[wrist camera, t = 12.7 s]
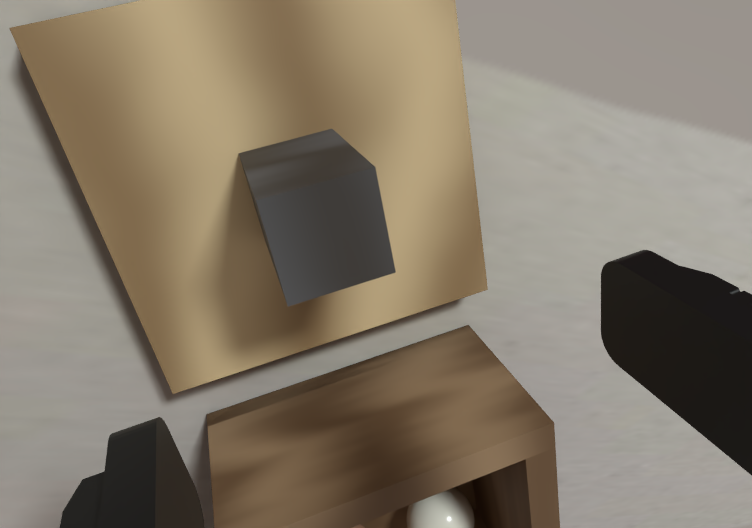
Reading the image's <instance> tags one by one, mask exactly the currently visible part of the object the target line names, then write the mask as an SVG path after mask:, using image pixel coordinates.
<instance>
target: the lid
mask: <svg viewBox="0 0 752 528" xmlns="http://www.w3.org/2000/svg"><path fill="white" fill-rule="evenodd" d="M10 30H11V33H12V35H13V37H14V39H15V42H16V44H17V46H18V48H19V51H20V53H21V55H22V57H23V60H24V62H25V64H26V66H27V69H28V71H29V73H30V75H31V77H32V80H33V82H34V84H35V86H36V89H37V91H38V93H39V95H40V98H41V100H42V102H43V104H44V107H45V109H46V111H47V113H48V116H49V118H50V120H51V122H52V124H53V127H54V129H55V131H56V133H57V136H58V138H59V140H60V142H61V145H62V147H63V149H64V151H65V154H66V156H67V158H68V160H69V163H70V165H71V167H72V169H73V172H74V174H75V176H76V178H77V180H78V183H79V185H80V187H81V189H82V192H83V194H84V196H85V198H86V201H87V203H88V205H89V207H90V210H91V212H92V214H93V216H94V219H95V221H96V223H97V225H98V227H99V230H100V232H101V234H102V236H103V239H104V241H105V243H106V245H107V248H108V250H109V252H110V254H111V257H112V259H113V261H114V263H115V266H116V268H117V270H118V272H119V274H120V277H121V279H122V281H123V283H124V286H125V288H126V290H127V292H128V295H129V297H130V299H131V301H132V304H133V306H134V308H135V310H136V313H137V315H138V317H139V319H140V322H141V324H142V326H143V328H144V330H145V333H146V335H147V337H148V339H149V342H150V344H151V346H152V348H153V351H154V353H155V355H156V357H157V360H158V362H159V364H160V366H161V369H162V371H163V373H164V375H165V377H166V380H167V382H168V384H169V386H170V389H171V391H172V393H173V394H175V393H178V392H181V391H184V390H187V389H190V388H193V387H196V386H199V385H202V384H205V383H208V382H211V381H214V380H217V379H220V378H223V377H226V376H229V375H232V374H235V373H238V372H241V371H244V370H247V369H250V368H253V367H256V366H259V365H262V364H265V363H268V362H271V361H274V360H277V359H280V358H283V357H286V356H289V355H292V354H295V353H298V352H301V351H304V350H307V349H310V348H313V347H316V346H319V345H322V344H325V343H328V342H331V341H334V340H337V339H340V338H343V337H346V336H349V335H352V334H355V333H358V332H361V331H364V330H367V329H370V328H373V327H376V326H379V325H382V324H385V323H388V322H391V321H394V320H397V319H400V318H403V317H406V316H409V315H412V314H415V313H418V312H421V311H424V310H427V309H431V308H434V307H437V306H440V305H443V304H446V303H449V302H452V301H455V300H458V299H461V298H464V297H467V296H470V295H473V294H476V293H479V292H482V291H485V290H488V288H487V279H486V270H485V262H484V253H483V244H482V235H481V226H480V217H479V208H478V199H477V190H476V182H475V173H474V164H473V155H472V146H471V137H470V128H469V119H468V111H467V102H466V93H465V84H464V75H463V66H462V57H461V49H460V39H459V31H458V22H457V13H456V5H455V0H140V1H136V2H131V3H126V4H121V5H117V6H112V7H107V8H102V9H98V10H93V11H88V12H83V13H79V14H74V15H69V16H64V17H60V18H55V19H50V20H45V21H41V22H36V23H31V24H27V25H22V26H17V27H12V28H10Z"/></svg>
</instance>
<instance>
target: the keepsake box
mask: <svg viewBox="0 0 752 528" xmlns="http://www.w3.org/2000/svg"><path fill="white" fill-rule="evenodd" d="M207 427H208V441H209V456H210V470H211V485H212V499H213V514H214V528H352V527H355V526H357V525H360V524H361V525H362V526H364V527H365V528H408V527H407V510H408V506H409V505H411V504H413V503H416V502H418V501H421V500H423V499H426V498H428V497H431V496H433V495H436V494H439V493H441V492H444V491H446V490H449V489H451V488H454V487H455V488H457V489H458V490H460V491H461V492H462V493H463V494H464V495H465V496H466V498H467V499H468V501H469V502H470V504H471V506H472V509H473V513H474V520H475V521H474V528H560V521H559V503H558V485H557V468H556V450H555V432H554V422H553V421H552V420H551V419H550V418H549V416H548V415H547V414H546V413H545V412H544V411H543V410H542V408H541V407H540V406H539V405H538V404H537V403H536V402H535V400H534V399H533V398H532V397H531V396H530V395H529V394H528V392H527V391H526V390H525V389H524V388H523V387H522V386H521V384H520V383H519V382H518V381H517V380H516V379H515V378H514V376H513V375H512V374H511V373H510V372H509V371H508V370H507V368H506V367H505V366H504V365H503V364H502V363H501V362H500V360H499V359H498V358H497V357H496V356H495V355H494V354H493V352H492V351H491V350H490V349H489V348H488V347H487V346H486V344H485V343H484V342H483V341H482V340H481V339H480V338H479V337H478V335H477V334H476V333H475V332H474V331H473V330H472V329H471V327H470V326H469V325H467V326H464V327H461V328H458V329H455V330H453V331H450V332H447V333H444V334H441V335H438V336H435V337H432V338H429V339H426V340H423V341H420V342H417V343H414V344H412V345H409V346H406V347H403V348H400V349H397V350H394V351H391V352H388V353H385V354H382V355H379V356H376V357H373V358H371V359H368V360H365V361H362V362H359V363H356V364H353V365H350V366H347V367H344V368H341V369H338V370H335V371H332V372H330V373H327V374H324V375H321V376H318V377H315V378H312V379H309V380H306V381H303V382H300V383H297V384H294V385H291V386H289V387H286V388H283V389H280V390H277V391H274V392H271V393H268V394H265V395H262V396H259V397H256V398H253V399H250V400H247V401H245V402H242V403H239V404H236V405H233V406H230V407H227V408H224V409H221V410H218V411H215V412H212V413H209V414H207Z"/></svg>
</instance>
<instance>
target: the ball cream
mask: <svg viewBox="0 0 752 528" xmlns="http://www.w3.org/2000/svg"><path fill="white" fill-rule="evenodd" d="M474 521H475V520H474V513H473V509H472V506H471V504H470V502H469V501H468V499H467V498H466V496H465V495H464V494H463V493H462V492H461V491H460V490H458V489H457V488H455V487H454V488H451V489H449V490H446V491H444V492H441V493H439V494H436V495H433V496H431V497H428V498H426V499H423V500H421V501H418V502H416V503H413V504H411V505H409V506H408V510H407V527H408V528H474Z"/></svg>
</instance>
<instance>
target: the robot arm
mask: <svg viewBox="0 0 752 528" xmlns="http://www.w3.org/2000/svg"><path fill="white" fill-rule="evenodd" d="M601 336H602V340H603V343H604V346H605V348H606V350H607V352H608V354H609V356H610V357H611V358H612V360H613V361H614V362H615V363H616V364H617V365H618V366H619V367H621V368H622V369H623V370H624V371H626V372H627V373H628V374H629V375H630V376H632V377H633V378H634V379H635V380H636V381H638V382H639V383H640V384H641V385H643V386H644V387H645V388H646V389H647V390H649V391H650V392H651V393H652V394H653V395H655V396H656V397H657V398H658V399H660V400H661V401H662V402H663V403H664V404H666V405H667V406H668V407H669V408H670V409H672V410H673V411H674V412H675V413H677V414H678V415H679V416H680V417H681V418H683V419H684V420H685V421H686V422H687V423H689V424H690V425H691V426H692V427H694V428H695V429H696V430H697V431H698V432H700V433H701V434H702V435H703V436H705V437H706V438H707V439H708V440H709V441H711V442H712V443H713V444H714V445H715V446H717V447H718V448H719V449H720V450H722V451H723V452H724V453H725V454H726V455H728V456H729V457H730V458H731V459H732V460H734V461H735V462H736V463H737V464H739V465H740V466H741V467H742V468H743V469H745V470H746V471H747V472H748V473H749V474H751V475H752V295H751V294H750V293H748V292H746V291H742V292H740V290H739V288H738V287H736V286H734V285H732V284H730V283H728V282H726V281H724V280H722V279H720V278H719V277H717V276H715V275H713V274H709V273H705V272H702V271H698V270H694V269H690V268H686V267H682V266H678V265H676V264H674V263H673V262H671V261H669V260H667V259H665V258H663V257H661V256H659V255H658V254H656V253H654V252H652V251H649V250H642V251H639V252H636V253H633V254H630V255H628V256H625V257H622V258H619V259H616V260H613V261H610V262H608V263H606V264H605V265H604V267H603V269H602V272H601ZM60 528H204V520H203V514H202V509H201V505H200V501H199V498H198V494H197V491H196V488H195V486H194V483H193V481H192V479H191V477H190V475H189V473H188V470H187V468H186V466H185V464H184V462H183V460H182V457H181V455H180V453H179V451H178V449H177V447H176V445H175V442H174V440H173V438H172V436H171V434H170V432H169V429H168V427H167V425H166V424H165V422H164V420H163V419H162V418H160V417H158V418H155V419H153V420H150V421H147V422H144V423H141V424H138V425H135V426H132V427H130V428H127V429H124V430H121V431H118V432H115V433H112V434H111V435H110V437H109V440H108V448H107V456H106V465H105V472H102V473H99V474H97V475H94V476H91V477H88V478H85V479H83V480H82V481H81V483H80V485H79V486H78V488H77V489H76V491H75V493H74V494H73V496H72V498H71V499H70V501H69V503H68V504H67V506H66V507H65V509H64V511H63V514H62V519H61V524H60Z"/></svg>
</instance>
